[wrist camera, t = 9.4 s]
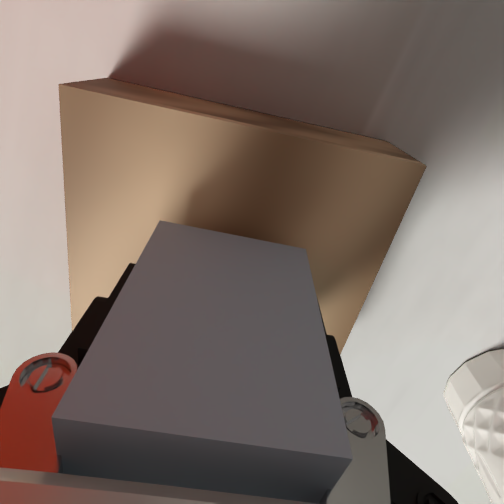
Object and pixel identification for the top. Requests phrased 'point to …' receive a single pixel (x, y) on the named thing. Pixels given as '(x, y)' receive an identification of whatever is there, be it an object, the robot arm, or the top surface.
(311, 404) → the block
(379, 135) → the top surface
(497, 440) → the white cup
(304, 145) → the pedestal
